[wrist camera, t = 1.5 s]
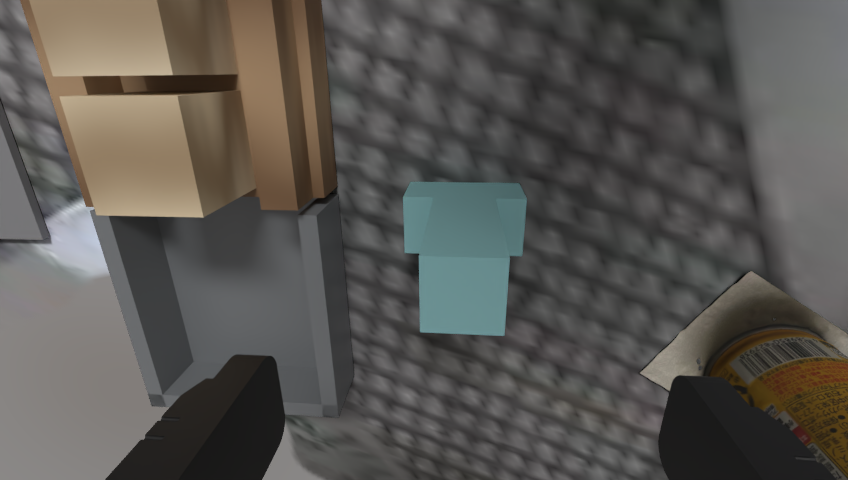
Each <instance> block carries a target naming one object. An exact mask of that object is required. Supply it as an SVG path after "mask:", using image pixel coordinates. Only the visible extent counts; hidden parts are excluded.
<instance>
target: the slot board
mask: <svg viewBox="0 0 848 480" xmlns="http://www.w3.org/2000/svg"><path fill="white" fill-rule="evenodd" d="M20 1H21V4H22V7H23V10H24V14H25V17H26V20H27V23H28V26H29V29H30V32H31V35H32V39H33V42H34V45H35V48H36V51H37V54H38V57H39V60H40V64H41V67H42V70H43V73H44V76H45V79H46V82H47V86H48V89H49V92H50V95H51V98H52V101H53V104H54V107H55V111H56V114H57V117H58V120H59V123H60V126H61V129H62V132H63V136H64V139H65V142H66V145H67V148H68V151H69V154H70V157H71V161H72V164H73V167H74V170H75V173H76V176H77V179H78V182H79V186H80V189H81V192H82V195H83V198H84V201H85V204H86V207H94V206H93V203H92V199H91V196H90V193H89V190H88V187H87V183H86V180H85V177H84V174H83V171H82V167H81V164H80V161H79V158H78V155H77V151H76V148H75V145H74V142H73V139H72V135H71V132H70V129H69V126H68V123H67V119H66V116H65V113H64V110H63V107H62V104H61V100H60V96H76V95H92V94H109V93H125V92H141V91H234V90H241V97H242V103H243V109H244V115H245V121H246V127H247V134H248V140H249V146H250V152H251V158H252V165H253V171H254V177H255V183H256V188H255V189H254V190H252V191H250V192H248V193H246V194H245V195H243V196H241V197H259V198H260V205H261V210H299V209H300V208H302V207H303V206H304V205H305V204H306V203H308V202H309V201H310V200H311V199H312V198H325V197H326V196H327V195H328V194H329V193H331V192H332V191H333V190H334V189H335V188H336V187H337V175H336V164H335V153H334V141H333V130H332V119H331V107H330V96H329V85H328V73H327V62H326V51H325V39H324V28H323V17H322V5H321V0H226V4H227V10H228V16H229V22H230V28H231V35H232V41H233V47H234V53H235V59H236V66H237V72H238V74H224V75H142V76H53V75H52V72H51V68H50V65H49V62H48V59H47V56H46V52H45V49H44V46H43V43H42V40H41V36H40V33H39V30H38V27H37V24H36V20H35V17H34V14H33V11H32V8H31V4H30V1H29V0H20Z"/></svg>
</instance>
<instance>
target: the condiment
mask: <svg viewBox="0 0 848 480" xmlns="http://www.w3.org/2000/svg"><path fill="white" fill-rule="evenodd" d="M773 318H776V320H775V321H773ZM698 358H700V360H701V363H700V365H699V364H697V361H696V360H697V359H698ZM698 366H702V369H701V370H700V371H699V370H698ZM640 374H642V375H644V376H645V377H647V378H649V379H650V380H652V381H653V382H655V383H657V384H659V385H661V386H662V387H664V388H665V389H667V390H668V391H670V388H671V384H672V381H673V379H674V378H675V377H676V376H679V375H685V376H708V377H722V378H724V379H726V380H727V381H728V382H729V383H730V384H731V385H732V386H733V387H734V388H735V390H736V391H737V392H738V393H739V394H740V395H741V396H742V398H743V399H744V400H745V401H746V402H747V403H748V404H749V406H750V407H758V408H760V409H761V410H763V411H764V412H766V413H767V414H769V415H770V416H771V417H773V418H774V419H776V420H777V421H779V422H780V423H782V424H783V425H784V426H786V427H787V428H789V429H790V430H791V431H792V432H793V433H794V434H795V435H796V436H797V437H798V438H799V439H800V440H801V441H802V442H803V443H804V445H805V446H806V447H807V448H808V449H809V450H810V451H811V452H812V453H813V454H814V455H815V456H816V461H817V462H820V463H822V464H823V465H824V466H825V467H826V468H827V469H828V470H829V471H830V472H831V474H832V475H833V476H834V477H835V478H836V479H837V480H848V334H847V333H845V332H844V331H842V330H841V329H839V328H838V327H836V326H835V325H833V324H832V323H830V322H829V321H827V320H826V319H824V318H822V317H821V316H819V315H818V314H817V313H815V312H813V311H812V310H810V309H809V308H807V307H805V306H804V305H802V304H801V303H799V302H798V301H796V300H795V299H793V298H792V297H790V296H789V295H787V294H786V293H784V292H783V291H781V290H780V289H778V288H776V287H775V286H773V285H772V284H770V283H769V282H767V281H766V280H764V279H763V278H761V277H760V276H758V275H756V274H755V273H753V272H752V271H750V272H749V273H748V274H746V275H745V276H744V277H743V278H742V279H741V280H740V281H739V282H738V283H736V284H734V285H733V286H731V287H730V288H729V289H728V290H727V291H726V292H725V293H724V294H723V295H721V296H720V297H719V298H718V299H717V300H716V301H715V302H714V303H713V304H712V305H711V306H710V307H708V308H707V309H706V310H705V311H703V312H702V313H701V314H700V315H699V316H698V317H697V318H696V319H695V320H694V321H693V322H692V323H691V324H690V325H689V326H688V327H687V328H686V329H685V330H682V331H681V332H680V333H679V334H678V336H677V337H676V338H675V339H674V341H673V342H672V343H671V344H669V346H668V347H667V348H665V349H664V350H663V351H661V352H660V353H659V354H658V355H657V356H656V357H655V359H654V360H653V361H652V362H651V363H650V364H649V365H648V366H647V367H646V368H645V369H644V370H643V371H641V372H640Z"/></svg>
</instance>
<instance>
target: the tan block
mask: <svg viewBox="0 0 848 480" xmlns="http://www.w3.org/2000/svg"><path fill="white" fill-rule="evenodd" d="M60 100H61V104H62V107H63V110H64V113H65V116H66V119H67V123H68V126H69V129H70V132H71V135H72V139H73V142H74V145H75V148H76V151H77V155H78V158H79V161H80V164H81V167H82V171H83V174H84V177H85V180H86V183H87V187H88V190H89V193H90V196H91V199H92V203H93V206H94V209H95V212H96V215H104V216H153V217H202V218H204V217H205V216H207V215H209V214H211V213H212V212H214V211H216V210H218V209H220V208H221V207H223V206H225V205H227V204H229V203H230V202H232V201H234V200H236V199H238V198H239V197H241V196H243V195H245V194H246V193H248V192H250V191H252V190H254V189H255V188H256V183H255V177H254V171H253V165H252V158H251V152H250V146H249V140H248V134H247V127H246V121H245V115H244V109H243V103H242V97H241V90H234V91H141V92H125V93H109V94H92V95H76V96H60Z"/></svg>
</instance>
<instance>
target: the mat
mask: <svg viewBox="0 0 848 480" xmlns="http://www.w3.org/2000/svg"><path fill="white" fill-rule="evenodd" d="M49 237H50V236H49V233H48V231H47V228H46V225H45V222H44V220H43V217H42V214H41V211H40V208H39V206H38V203H37V200H36V197H35V195H34V192H33V189H32V186H31V184H30V181H29V178H28V175H27V173H26V170H25V167H24V164H23V162H22V159H21V156H20V153H19V151H18V148H17V145H16V142H15V140H14V137H13V134H12V131H11V129H10V126H9V123H8V120H7V118H6V115H5V112H4V109H3V107H2V104H1V101H0V239H26V240H44V239H47V238H49Z"/></svg>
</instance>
